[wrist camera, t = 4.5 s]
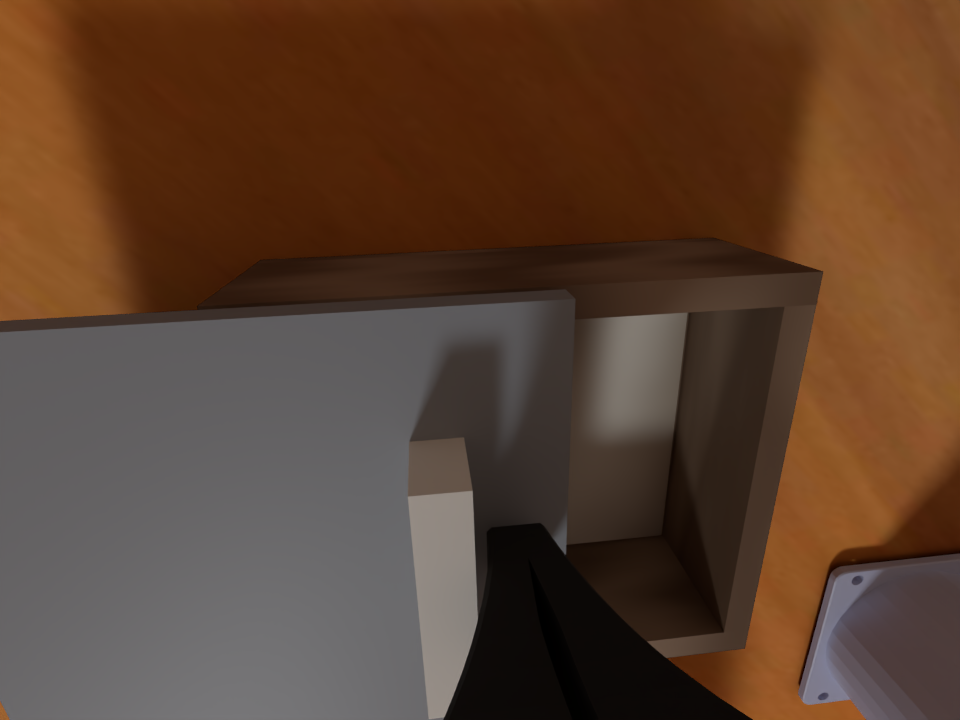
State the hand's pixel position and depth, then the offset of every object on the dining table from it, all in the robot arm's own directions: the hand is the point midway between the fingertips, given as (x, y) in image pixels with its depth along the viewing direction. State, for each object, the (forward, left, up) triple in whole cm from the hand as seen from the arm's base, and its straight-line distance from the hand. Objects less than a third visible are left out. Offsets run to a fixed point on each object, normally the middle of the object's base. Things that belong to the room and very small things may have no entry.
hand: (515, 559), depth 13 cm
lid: (+6, 0, -1) cm, 6 cm away
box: (-1, 0, -7) cm, 7 cm away
